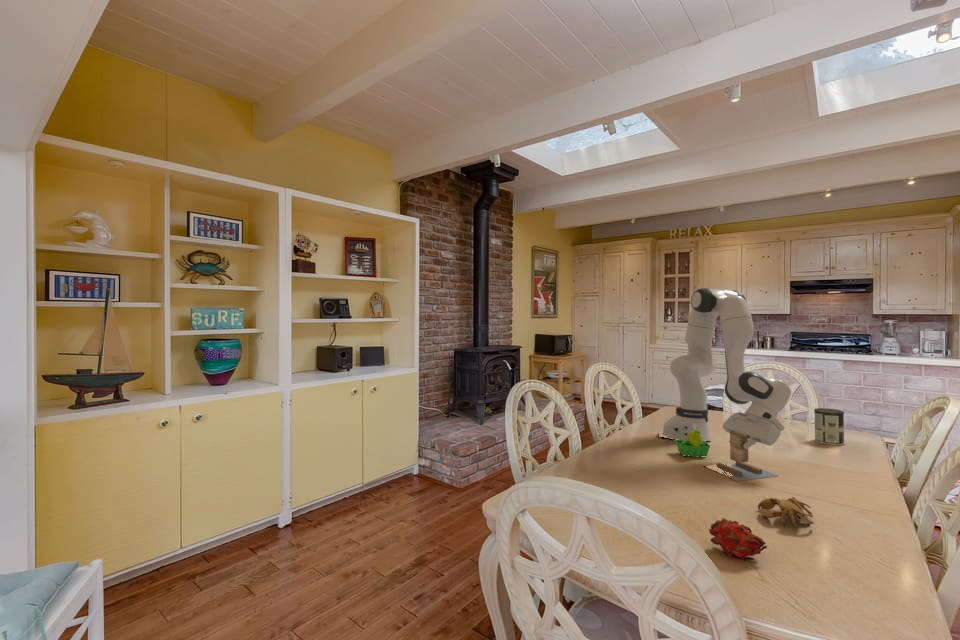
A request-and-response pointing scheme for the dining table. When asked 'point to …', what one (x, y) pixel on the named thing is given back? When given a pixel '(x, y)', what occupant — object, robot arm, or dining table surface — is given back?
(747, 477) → the mat
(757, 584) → the dining table surface
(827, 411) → the coffee can
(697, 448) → the fruit basket
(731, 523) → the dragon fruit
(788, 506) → the crab model
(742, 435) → the card block
